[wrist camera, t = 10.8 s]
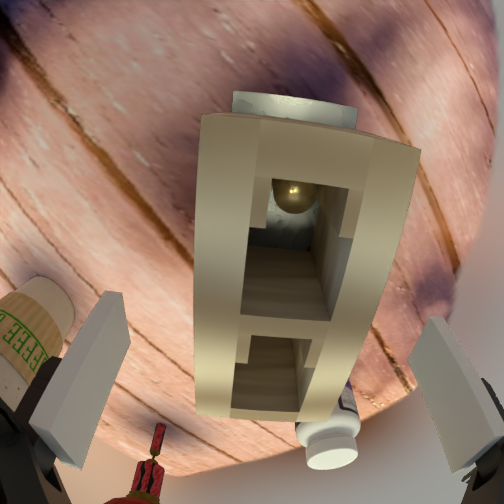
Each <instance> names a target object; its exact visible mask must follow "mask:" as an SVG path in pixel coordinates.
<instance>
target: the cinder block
mask: <svg viewBox="0 0 504 504" xmlns="http://www.w3.org/2000/svg"><path fill="white" fill-rule="evenodd" d="M420 154H421V149H418V148H415V147H412V146H409V145H406V144H403V143H400V142H397V141H394V140H391V139H387V138H384V137H381V136H377V135H374V134H370V133H367V132H363V131H358V130H353V129H348V128H343V127H338V126H333V125H327V124H321V123H315V122H309V121H302V120H295V119H288V118H281V117H272V116H264V115H254V114H244V113H232V112H219V113H210V114H202V115H201V125H200V138H199V152H198V168H197V186H196V208H195V236H194V295H193V314H194V372H195V399H196V414H199V415H206V416H215V417H224V418H234V419H246V420H260V421H280V422H327V421H328V419H329V417H330V415H331V413H332V411H333V409H334V407H335V405H336V403H337V401H338V399H339V397H340V395H341V393H342V391H343V388H344V386H345V384H346V382H347V380H348V378H349V376H350V373H351V371H352V369H353V367H354V364H355V362H356V360H357V357H358V355H359V353H360V350H361V348H362V346H363V343H364V341H365V338H366V336H367V333H368V331H369V328H370V326H371V323H372V321H373V318H374V315H375V313H376V310H377V307H378V305H379V302H380V299H381V296H382V293H383V291H384V288H385V285H386V282H387V279H388V276H389V273H390V270H391V267H392V264H393V260H394V257H395V254H396V251H397V247H398V244H399V241H400V237H401V234H402V230H403V226H404V223H405V219H406V215H407V211H408V208H409V204H410V199H411V195H412V191H413V187H414V182H415V178H416V173H417V169H418V164H419V159H420ZM272 178H276V179H284V180H292V181H300V182H307V183H315V184H316V187H317V200H318V201H319V206H318V211H317V217H316V222H315V228H314V233H313V238H312V243H311V248H310V252H308V251H298V250H289V249H279V248H269V247H260V246H250V245H247V242H248V232H249V227H255V228H266V220H267V213H268V205H269V197H270V189H271V181H272Z"/></svg>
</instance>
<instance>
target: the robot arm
mask: <svg viewBox="0 0 504 504" xmlns="http://www.w3.org/2000/svg"><path fill="white" fill-rule="evenodd" d="M130 343H131V341H130V336H129V331H128V326H127V320H126V314H125V309H124V302H123V296H122V293H119V292H113V291H106V290H105V292H104V293H103V295H102V296H101V298H100V299H99V301H98V302H97V304H96V305H95V307H94V308H93V310H92V311H91V313H90V315H89V316H88V318H87V319H86V321H85V322H84V324H83V326H82V327H81V329H80V330H79V332H78V334H77V335H76V337H75V339H74V340H73V342H72V344H71V345H70V347H69V349H68V350H67V352H66V354H65V355H64V357H63V359H62V358H58V357H55V356H51V357H50V358H49V359H48V360H46V361H45V362H44V363H43V364H42V365H41V366H40V368H39V370H38V371H37V373H36V376H35V377H34V378H33V380H32V382H31V383H30V384H31V385H30V386H29V387H28V389H27V390H26V392H25V394H24V396H23V398H22V399H21V401H20V403H19V405H18V407H17V409H16V410H15V412H14V414H12V413H11V411H10V410H9V409H8V408H7V407H6V406H4V405H1V404H0V504H72V503H71V501H70V499H69V497H68V495H67V493H66V490H65V488H64V486H63V483H62V481H61V479H60V476H59V474H58V471H57V469H56V467H55V465H54V461H55V459H56V457H57V458H58V459H59V460H60V461H61V462H62V464H65V465H68V466H70V467H73V468H76V469H79V470H82V468H83V465H84V462H85V459H86V456H87V453H88V450H89V447H90V444H91V441H92V438H93V436H94V433H95V430H96V428H97V425H98V422H99V420H100V417H101V414H102V412H103V409H104V406H105V404H106V401H107V399H108V396H109V394H110V391H111V389H112V386H113V384H114V381H115V379H116V376H117V374H118V371H119V369H120V367H121V364H122V362H123V359H124V357H125V355H126V352H127V350H128V348H129V345H130ZM408 362H409V365H410V367H411V369H412V371H413V374H414V376H415V378H416V381H417V383H418V385H419V387H420V390H421V392H422V395H423V397H424V399H425V402H426V404H427V407H428V409H429V412H430V414H431V417H432V419H433V422H434V425H435V427H436V430H437V432H438V435H439V438H440V441H441V443H442V446H443V449H444V452H445V455H446V457H447V460H448V463H449V466H450V469H451V472H452V474H455V473H457V472H460V471H463V470H466V469H467V468H468V467H470V466H471V465H472V464H473V463H474V462H475V463H476V466H477V467H475V468H474V469H473V470H472V471H471V472H469V473H468V474H467V475H466V476H464V477H463V479H462V480H461V481H462V482H463V481H465V480H466V479H467V478H469V477H470V476H471V477H470V479H469V480H468V481H467V482H466V483H468V486H467V489H466V492H465V494H464V497H463V500H462V502H461V504H504V409H503V407H502V405H501V404H500V402H499V400H498V398H497V397H496V394H495V392H494V391H493V389H492V387H491V385H490V384H489V383H488V382H486V380H485V379H484V378H480V377H479V375H478V373H477V371H476V370H475V368H474V366H473V364H472V363H471V361H470V360H469V358H468V356H467V354H466V353H465V351H464V349H463V348H462V346H461V345H460V343H459V341H458V340H457V338H456V337H455V335H454V334H453V332H452V330H451V329H450V327H449V326H448V324H447V323H446V321H445V320H444V318H443V317H440V316H430V317H429V319H428V321H427V323H426V325H425V327H424V329H423V331H422V333H421V335H420V337H419V339H418V341H417V343H416V345H415V347H414V349H413V351H412V353H411V354H410V356H409V358H408Z"/></svg>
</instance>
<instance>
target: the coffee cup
mask: <svg viewBox="0 0 504 504" xmlns="http://www.w3.org/2000/svg"><path fill="white" fill-rule="evenodd" d="M74 319H75V312H74V307H73V305H72V302H71V300H70V299H69V297H68V295H67V294H66V293H65V291H64V290H63V289H62V288H61V287H60V286H59V285H57V284H56V283H55V282H53V281H52V280H50V279H48V278H46V277H41V276H36V277H33V278H31V279H30V280H29V281H27V282H26V283H24V284H23V285H22V286H20V287H19V288H18V289H16V290H15V291H14V292H11V293H8V294H7V295H6V296H4V297H3V298H2V299H0V404H1V405H4V406H6V407H7V408H8V409H9V410H10V411H11V413H12V414H14V412H15V410H16V409H17V407H18V405H19V403H20V401H21V399H22V398H23V396H24V394H25V392H26V390H27V389H28V387H29V386H30V385H31V384H30V383H31V382H32V380H33V378H34V377H35V376H36V373H37V371H38V370H39V368H40V366H41V365H42V364H43V363H44V362H45V361H46V360H48V359H49V358H50V357H51V356H55V357H58V356H59V354H60V352H61V350H62V346H63V342H64V340H65V338H66V336H67V334H68V332H69V330H70V328H71V326H72V324H73V322H74Z"/></svg>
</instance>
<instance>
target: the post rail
mask: <svg viewBox="0 0 504 504" xmlns="http://www.w3.org/2000/svg"><path fill="white" fill-rule="evenodd" d="M232 113H244V114H254V115H264V116H272V117H281V118H288V119H295V120H302V121H309V122H315V123H321V124H327V125H333V126H338V127H343V128H348V129H353V130H355V127H356V120H357V113H358V108H354V107H349V106H344V105H339V104H334V103H328V102H322V101H316V100H310V99H304V98H297V97H290V96H282V95H274V94H265V93H255V92H244V91H234V92H233V102H232ZM318 206H319V201H318V200H317V187H316V184H315V183H307V182H300V181H292V180H284V179H276V178H272V181H271V189H270V197H269V205H268V213H267V220H266V228H255V227H249V232H248V242H247V245H250V246H260V247H269V248H279V249H289V250H298V251H308V252H310V248H311V243H312V238H313V233H314V228H315V222H316V217H317V211H318Z"/></svg>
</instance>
